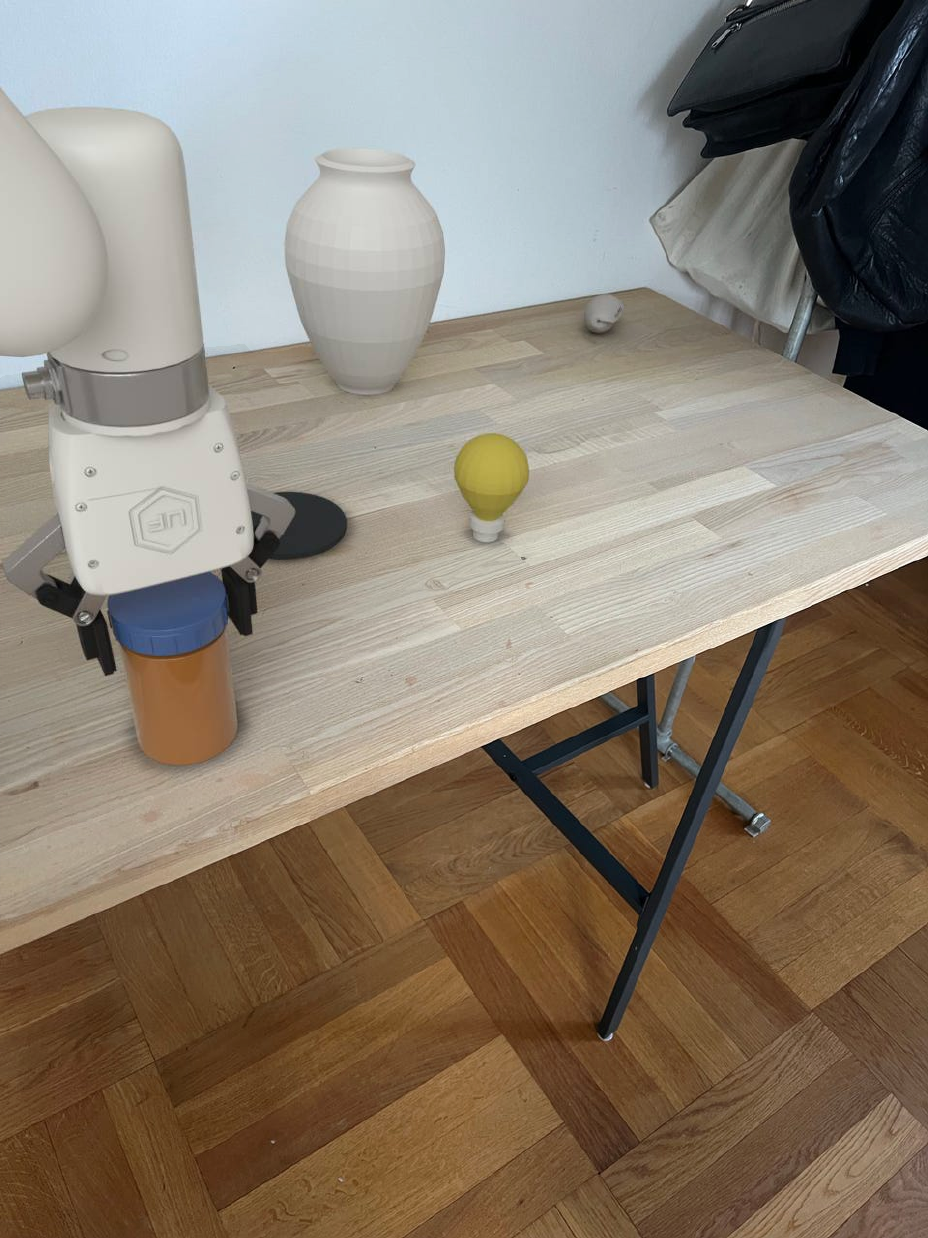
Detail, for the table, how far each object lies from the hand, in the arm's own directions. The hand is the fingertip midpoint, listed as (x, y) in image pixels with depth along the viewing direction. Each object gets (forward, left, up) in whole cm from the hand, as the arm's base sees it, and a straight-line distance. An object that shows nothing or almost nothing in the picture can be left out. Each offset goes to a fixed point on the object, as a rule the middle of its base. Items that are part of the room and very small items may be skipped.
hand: (174, 641), depth 59 cm
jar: (0, 0, -8) cm, 8 cm away
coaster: (+16, +22, -8) cm, 28 cm away
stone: (+76, +53, -8) cm, 93 cm away
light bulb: (+32, +13, -8) cm, 35 cm away
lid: (0, 0, +3) cm, 3 cm away
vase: (+37, +49, -8) cm, 62 cm away
